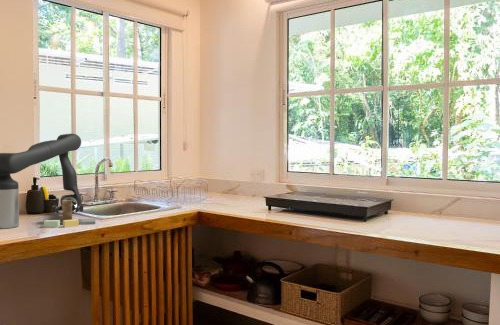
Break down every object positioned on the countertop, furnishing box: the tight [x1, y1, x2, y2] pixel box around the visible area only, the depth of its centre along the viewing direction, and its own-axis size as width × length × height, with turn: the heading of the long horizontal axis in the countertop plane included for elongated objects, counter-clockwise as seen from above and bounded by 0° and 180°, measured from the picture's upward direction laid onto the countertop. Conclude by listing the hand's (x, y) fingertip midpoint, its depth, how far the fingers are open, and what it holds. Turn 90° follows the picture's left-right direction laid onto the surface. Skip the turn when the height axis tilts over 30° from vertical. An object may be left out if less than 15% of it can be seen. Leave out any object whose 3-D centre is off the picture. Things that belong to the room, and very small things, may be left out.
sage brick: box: [43, 219, 61, 229], centre depth 201 cm, size 6×3×3 cm, turn 97°
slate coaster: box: [77, 218, 97, 226], centre depth 211 cm, size 8×8×1 cm
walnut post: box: [61, 200, 73, 226], centre depth 208 cm, size 4×4×11 cm
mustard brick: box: [62, 218, 79, 228], centre depth 203 cm, size 6×3×3 cm, turn 125°
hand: (66, 210), depth 206 cm, fingers open, 7 cm apart
